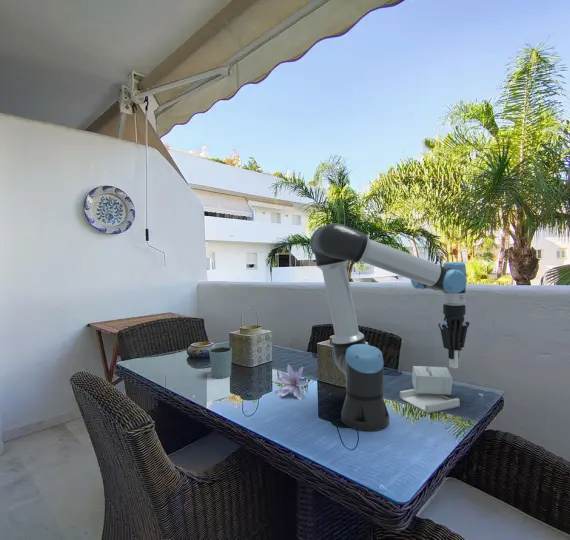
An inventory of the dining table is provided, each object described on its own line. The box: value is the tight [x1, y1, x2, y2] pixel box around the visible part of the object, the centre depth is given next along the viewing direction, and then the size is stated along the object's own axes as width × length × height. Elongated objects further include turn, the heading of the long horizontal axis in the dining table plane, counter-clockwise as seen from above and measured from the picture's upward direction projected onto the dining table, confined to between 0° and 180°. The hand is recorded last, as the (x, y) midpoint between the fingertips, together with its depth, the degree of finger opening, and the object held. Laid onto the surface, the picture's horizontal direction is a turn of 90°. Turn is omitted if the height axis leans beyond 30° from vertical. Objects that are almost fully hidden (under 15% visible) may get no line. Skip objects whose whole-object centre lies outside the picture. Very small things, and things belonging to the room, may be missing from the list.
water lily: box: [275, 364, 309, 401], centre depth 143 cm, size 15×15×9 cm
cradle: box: [399, 388, 461, 414], centre depth 132 cm, size 14×14×2 cm
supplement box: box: [411, 365, 453, 396], centre depth 137 cm, size 7×7×13 cm
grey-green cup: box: [208, 346, 233, 380], centre depth 165 cm, size 10×10×12 cm
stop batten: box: [434, 394, 452, 400], centre depth 135 cm, size 1×12×1 cm, turn 21°
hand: (453, 367), depth 136 cm, fingers closed
